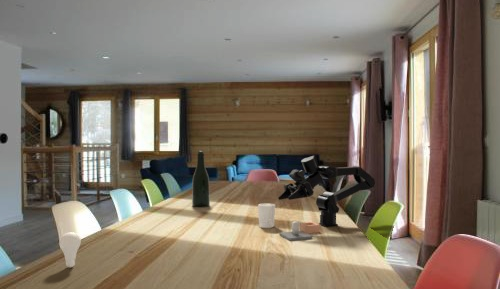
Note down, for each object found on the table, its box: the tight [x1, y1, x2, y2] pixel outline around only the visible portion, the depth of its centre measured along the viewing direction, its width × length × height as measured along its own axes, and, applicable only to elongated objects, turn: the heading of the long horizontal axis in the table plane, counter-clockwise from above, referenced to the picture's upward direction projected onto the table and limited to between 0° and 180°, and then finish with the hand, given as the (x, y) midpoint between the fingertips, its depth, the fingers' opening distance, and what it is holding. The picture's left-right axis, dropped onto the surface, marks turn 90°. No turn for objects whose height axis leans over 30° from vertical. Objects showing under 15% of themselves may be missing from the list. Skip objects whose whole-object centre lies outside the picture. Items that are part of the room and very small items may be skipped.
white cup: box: [257, 202, 276, 229], centre depth 182 cm, size 8×8×10 cm
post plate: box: [278, 221, 313, 242], centre depth 162 cm, size 10×10×6 cm
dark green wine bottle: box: [191, 150, 211, 208], centre depth 240 cm, size 10×10×33 cm
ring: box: [299, 221, 321, 234], centre depth 172 cm, size 6×6×3 cm
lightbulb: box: [58, 231, 82, 269], centre depth 125 cm, size 6×6×11 cm
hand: (283, 198), depth 173 cm, fingers open, 9 cm apart
